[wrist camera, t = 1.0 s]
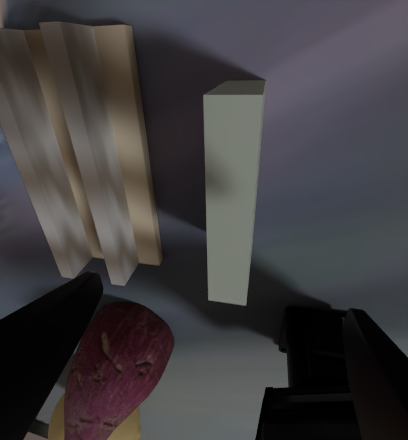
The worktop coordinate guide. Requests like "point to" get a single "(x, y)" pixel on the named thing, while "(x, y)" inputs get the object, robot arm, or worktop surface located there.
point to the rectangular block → (231, 184)
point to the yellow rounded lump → (122, 436)
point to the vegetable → (114, 369)
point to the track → (81, 143)
